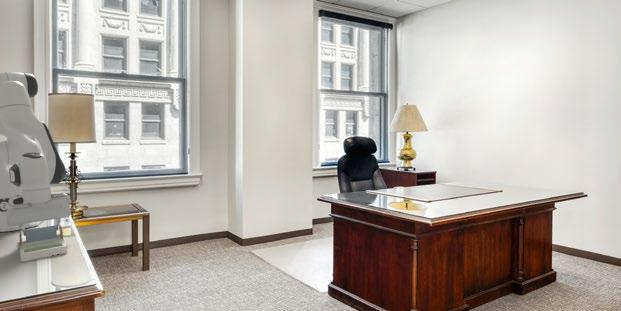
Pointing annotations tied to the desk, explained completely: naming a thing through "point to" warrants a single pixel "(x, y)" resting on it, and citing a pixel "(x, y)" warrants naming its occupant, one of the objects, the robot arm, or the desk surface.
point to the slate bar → (40, 233)
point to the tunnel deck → (42, 247)
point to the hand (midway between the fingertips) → (41, 232)
